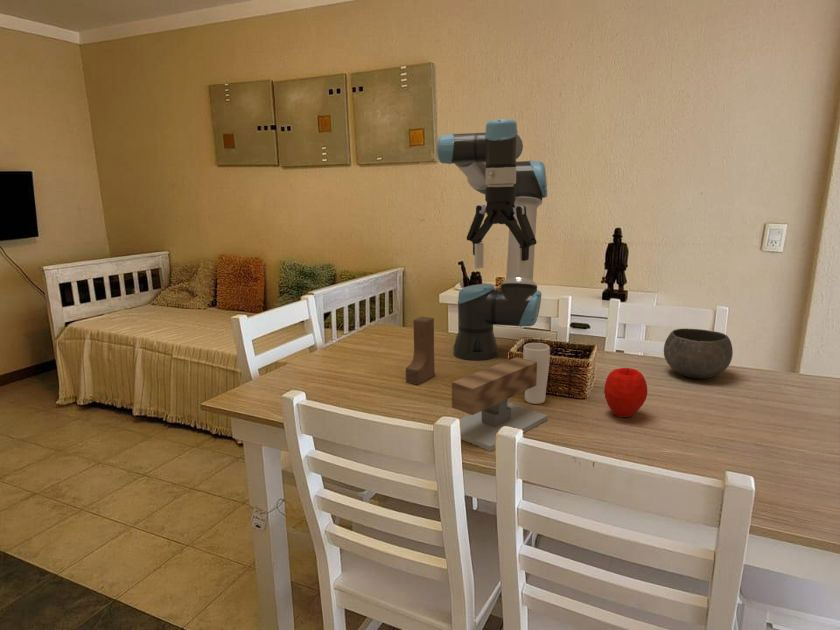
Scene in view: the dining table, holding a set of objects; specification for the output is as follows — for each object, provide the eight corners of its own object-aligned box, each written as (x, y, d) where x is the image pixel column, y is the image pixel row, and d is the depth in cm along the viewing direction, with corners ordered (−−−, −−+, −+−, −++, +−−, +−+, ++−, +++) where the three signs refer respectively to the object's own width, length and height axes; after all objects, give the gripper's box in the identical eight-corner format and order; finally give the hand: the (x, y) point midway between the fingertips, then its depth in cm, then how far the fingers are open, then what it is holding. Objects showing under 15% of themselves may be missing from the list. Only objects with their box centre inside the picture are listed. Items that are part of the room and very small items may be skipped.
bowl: (662, 381, 155) (666, 339, 152) (661, 362, 171) (664, 323, 168) (733, 389, 148) (739, 344, 145) (725, 368, 165) (730, 328, 162)
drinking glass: (549, 397, 145) (551, 343, 142) (546, 407, 139) (548, 351, 136) (523, 394, 148) (525, 341, 144) (519, 404, 141) (521, 349, 138)
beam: (516, 379, 137) (516, 357, 136) (536, 385, 133) (536, 362, 132) (452, 407, 121) (451, 382, 120) (472, 415, 117) (472, 388, 116)
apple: (640, 427, 127) (644, 377, 124) (597, 418, 132) (600, 370, 129) (648, 412, 135) (652, 365, 132) (607, 404, 140) (610, 359, 137)
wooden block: (418, 385, 156) (416, 324, 152) (405, 382, 159) (403, 322, 155) (435, 375, 164) (434, 317, 159) (422, 373, 166) (421, 316, 162)
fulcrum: (501, 404, 142) (501, 376, 140) (547, 419, 132) (548, 390, 130) (442, 431, 127) (442, 401, 125) (490, 451, 117) (490, 418, 115)
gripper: (452, 186, 141) (453, 267, 146) (534, 186, 123) (532, 278, 129) (471, 185, 146) (471, 264, 151) (552, 185, 129) (549, 273, 134)
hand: (499, 270), depth 140 cm, fingers open, 13 cm apart
